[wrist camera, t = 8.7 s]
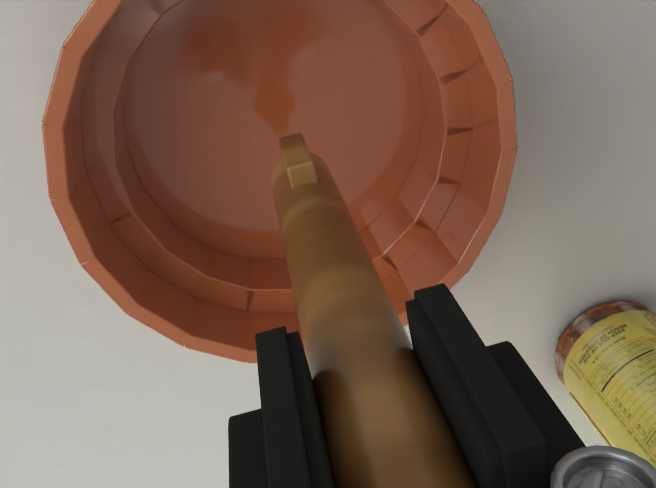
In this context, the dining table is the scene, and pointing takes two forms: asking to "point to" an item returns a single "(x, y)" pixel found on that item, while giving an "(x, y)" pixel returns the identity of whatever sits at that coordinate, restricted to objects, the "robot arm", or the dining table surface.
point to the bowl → (272, 149)
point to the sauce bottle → (614, 373)
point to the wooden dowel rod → (357, 342)
